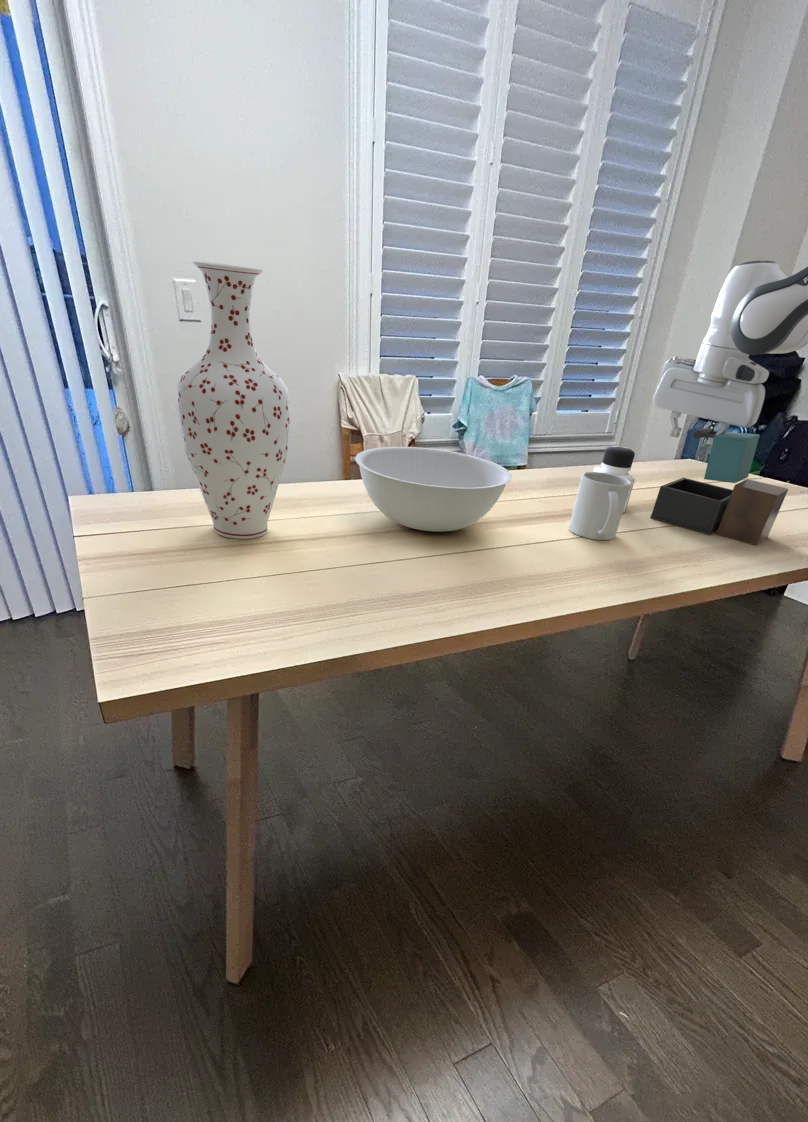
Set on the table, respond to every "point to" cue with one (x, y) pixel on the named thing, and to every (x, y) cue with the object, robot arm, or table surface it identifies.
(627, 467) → the medicine bottle
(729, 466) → the box
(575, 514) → the mug
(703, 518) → the basket
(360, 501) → the table surface
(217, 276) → the vase
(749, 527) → the stand
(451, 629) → the table surface
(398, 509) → the bowl
